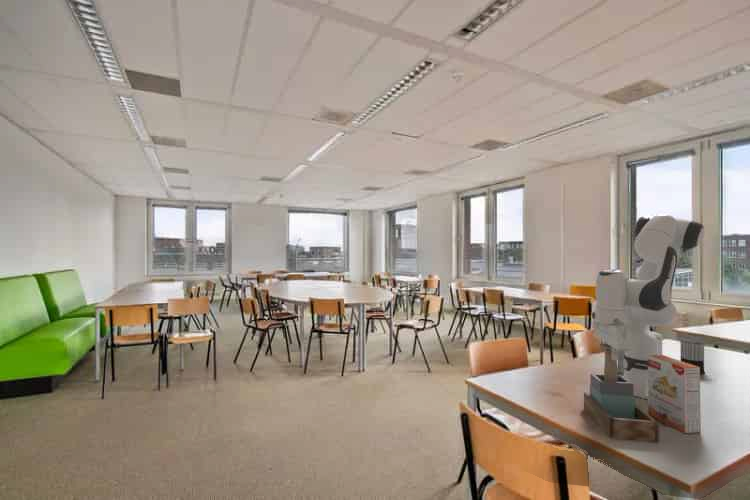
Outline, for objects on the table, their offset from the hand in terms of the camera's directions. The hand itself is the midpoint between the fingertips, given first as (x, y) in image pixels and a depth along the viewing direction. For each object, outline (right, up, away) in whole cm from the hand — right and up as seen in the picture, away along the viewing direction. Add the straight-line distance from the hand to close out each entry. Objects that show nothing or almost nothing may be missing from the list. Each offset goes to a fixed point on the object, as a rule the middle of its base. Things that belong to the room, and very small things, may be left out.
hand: (611, 357), depth 127 cm
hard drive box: (+41, -21, +45) cm, 65 cm away
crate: (0, -19, 0) cm, 19 cm away
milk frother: (+67, -21, +53) cm, 88 cm away
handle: (0, -11, 0) cm, 11 cm away
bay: (-1, -20, -5) cm, 21 cm away
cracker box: (+17, -21, -5) cm, 27 cm away
